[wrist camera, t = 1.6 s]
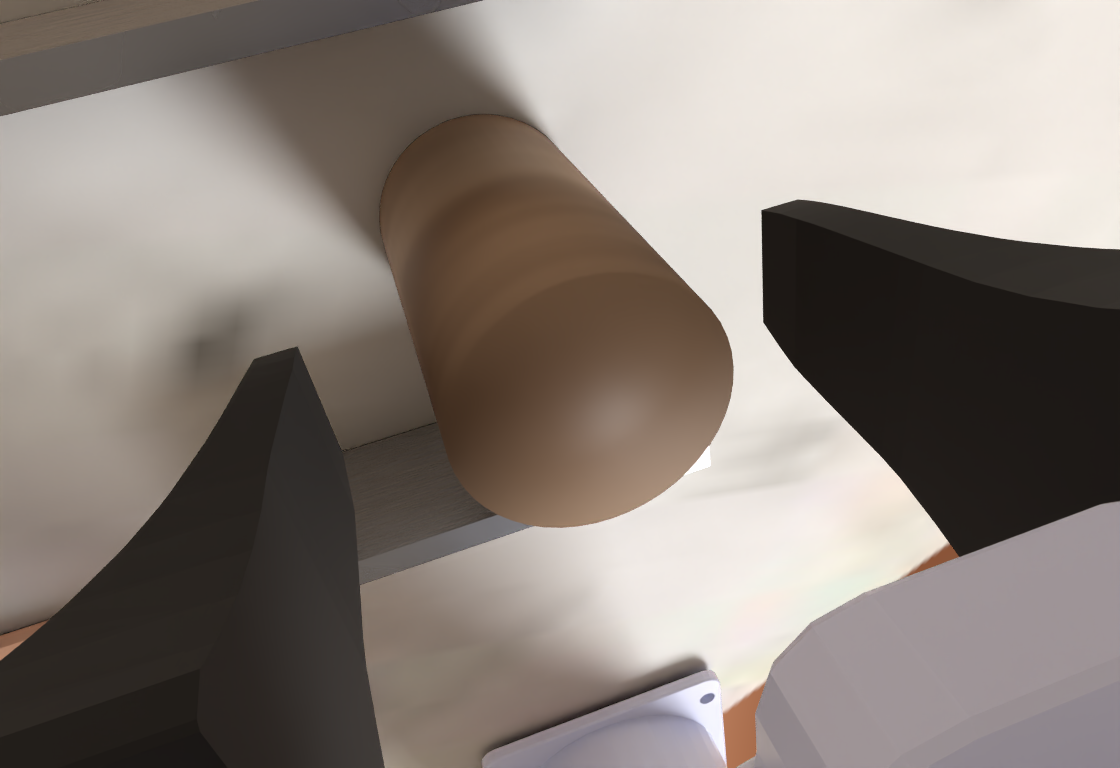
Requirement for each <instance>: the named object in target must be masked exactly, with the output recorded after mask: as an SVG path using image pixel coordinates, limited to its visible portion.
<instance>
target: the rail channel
mask: <svg viewBox="0 0 1120 768" xmlns="http://www.w3.org/2000/svg"><path fill="white" fill-rule="evenodd" d="M478 1H482V0H103V1H99V2H94V3H90V4H85V5H81V6H76V7H72V8H67V9H63V10H59V11H54V12H50V13H45V14H41V15H36V16H32V17H27V18H23V19H18V20H14V21H10V22H5V23H1V24H0V116H4V115H8V114H12V113H16V112H20V111H24V110H28V109H33V108H37V107H41V106H45V105H49V104H53V103H58V102H62V101H66V100H70V99H74V98H78V97H83V96H87V95H91V94H95V93H99V92H103V91H108V90H112V89H116V88H120V87H124V86H128V85H133V84H137V83H141V82H145V81H149V80H153V79H158V78H162V77H166V76H170V75H174V74H178V73H183V72H187V71H191V70H195V69H199V68H203V67H208V66H212V65H216V64H220V63H224V62H228V61H232V60H237V59H241V58H245V57H249V56H253V55H257V54H262V53H266V52H270V51H274V50H278V49H282V48H287V47H291V46H295V45H299V44H303V43H307V42H312V41H316V40H320V39H324V38H328V37H332V36H337V35H341V34H345V33H349V32H353V31H357V30H362V29H366V28H370V27H374V26H378V25H382V24H387V23H391V22H395V21H399V20H403V19H407V18H411V17H416V16H420V15H424V14H428V13H432V12H436V11H441V10H445V9H449V8H453V7H457V6H461V5H466V4H470V3H474V2H478ZM342 453H343V457H344V461H345V466H346V471H347V476H348V480H349V485H350V490H351V495H352V500H353V505H354V510H355V522H356V536H357V551H358V567H359V583H360V585H361V584H364V583H367V582H370V581H373V580H376V579H379V578H382V577H385V576H388V575H391V574H394V573H396V572H399V571H402V570H405V569H408V568H411V567H414V566H417V565H420V564H423V563H426V562H429V561H432V560H435V559H438V558H441V557H444V556H447V555H450V554H453V553H455V552H458V551H461V550H464V549H467V548H470V547H473V546H476V545H479V544H482V543H485V542H488V541H491V540H494V539H497V538H500V537H503V536H506V535H509V534H511V533H514V532H517V531H520V530H523V529H526V528H529V527H532V525H527V524H523V523H519V522H515V521H512V520H509V519H507V518H504V517H502V516H499V515H497V514H496V513H494V512H492V511H491V510H489V509H487V508H485V507H484V506H483V505H481V504H480V503H479V502H478V501H476V500H475V499H474V498H473V497H472V496H471V495H470V494H469V493H468V492H467V491H466V489H465V488H464V487H463V486H462V485H461V483H460V481H459V480H458V478H457V477H456V475H455V474H454V471H453V469H452V467H451V464H450V462H449V459H448V456H447V453H446V450H445V447H444V443H443V440H442V437H441V433H440V430H439V427H438V423H434V424H430V425H427V426H424V427H421V428H418V429H414V430H411V431H408V432H405V433H402V434H399V435H395V436H392V437H389V438H386V439H383V440H379V441H376V442H373V443H370V444H367V445H364V446H360V447H357V448H354V449H351V450H348V451H345V452H342ZM709 466H710V453H709V446H708V448H707V449H706V451H705V452H704V453H703V455H702V456H701V457H700V459H699V460H698V461H697V462H696V463H695V464H694V465H693V466H692V467H691V469H690V470H689V471H688V472H687V473H686V474H688V473H691V472H694V471H697V470H700V469H703V468H706V467H709ZM684 475H685V474H684Z"/></svg>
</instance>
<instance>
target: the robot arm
mask: <svg viewBox="0 0 1120 768" xmlns="http://www.w3.org/2000/svg"><path fill="white" fill-rule="evenodd" d="M761 211H762V270H763V322H764V324H765V325H766V327H767V328H768V330H769V331H770V333H771V334H772V336H773V337H774V339H775V340H776V342H777V343H778V345H779V346H780V348H781V349H782V351H783V352H784V353H785V355H786V356H787V357H788V359H789V360H790V361H791V363H792V364H793V366H794V367H795V368H796V369H797V370H798V371H799V372H800V373H801V375H802V376H803V377H804V378H805V379H806V380H807V381H808V382H809V383H810V384H811V385H812V386H813V387H814V388H815V389H816V390H817V391H818V392H819V393H820V395H821V396H822V397H823V398H824V399H825V400H826V401H827V402H828V403H829V404H830V405H831V406H832V407H833V408H834V409H835V410H836V411H837V412H838V413H839V414H840V415H841V416H842V417H843V418H844V419H845V420H846V421H847V422H848V423H849V424H850V425H851V426H852V427H853V428H854V429H855V430H856V431H857V432H858V433H859V434H860V435H861V436H862V437H863V439H864V440H865V441H866V442H867V443H868V444H869V445H870V446H871V447H872V448H873V449H874V450H875V451H876V452H877V453H878V454H879V455H880V456H881V457H882V458H883V459H884V460H885V461H886V462H887V464H888V465H889V466H890V467H891V468H892V469H893V470H894V471H895V473H896V474H897V475H898V476H899V477H900V478H901V480H902V481H903V482H904V483H905V485H906V486H907V487H908V489H909V490H910V491H911V492H912V494H913V495H914V496H915V498H916V499H917V500H918V502H919V503H920V504H921V505H922V507H923V508H924V509H925V511H926V512H927V513H928V515H929V516H930V517H931V518H932V520H933V521H934V522H935V524H936V525H937V526H938V528H939V529H940V531H941V532H942V533H943V535H944V536H945V537H946V539H947V540H948V542H949V543H950V544H951V546H952V547H953V549H954V550H955V551H956V553H957V554H958V556H959V558H956V559H953V560H951V561H948V562H945V563H943V564H940V565H937V566H935V567H932V568H929V569H927V570H924V571H921V572H919V573H916V574H913V575H911V576H908V577H905V578H903V579H900V580H897V581H895V582H892V583H889V584H887V585H884V586H881V587H879V588H876V589H873V590H871V591H868V592H865V593H863V594H861V595H859V596H857V597H856V598H854V599H852V600H850V601H848V602H847V603H845V604H843V605H841V606H840V607H838V608H836V609H834V610H832V611H831V612H829V613H827V614H825V615H823V616H822V617H820V618H818V619H816V620H814V621H813V622H811V623H810V624H809V625H808V626H807V627H806V628H805V629H804V630H803V631H802V632H801V634H800V635H799V636H798V637H797V638H796V639H795V640H794V641H793V642H792V643H791V644H790V645H789V646H788V647H787V648H786V649H785V650H784V651H783V652H782V653H781V654H780V655H779V657H778V658H777V659H776V660H775V661H774V662H773V664H772V667H771V670H770V673H769V675H768V678H767V681H766V684H765V687H764V690H763V693H762V696H761V699H760V702H759V705H758V707H757V711H756V714H755V716H756V743H757V752H756V756H755V757H753V758H751V759H749V760H748V761H746V762H744V763H743V764H741V765H739V766H738V767H736V768H1120V250H1119V249H1097V248H1082V247H1069V246H1060V245H1050V244H1041V243H1031V242H1022V241H1015V240H1007V239H1000V238H994V237H988V236H983V235H977V234H971V233H965V232H960V231H954V230H949V229H944V228H939V227H934V226H929V225H924V224H920V223H915V222H910V221H906V220H901V219H897V218H892V217H888V216H884V215H879V214H875V213H870V212H866V211H861V210H857V209H852V208H848V207H843V206H838V205H833V204H828V203H822V202H816V201H808V200H795V201H791V202H788V203H784V204H781V205H778V206H774V207H771V208H767V209H764V210H761ZM482 767H483V768H727V763H726V750H725V738H724V726H723V713H722V701H721V688H720V682H719V680H718V678H717V676H716V674H715V672H713V671H710V670H704V671H700V672H698V673H695V674H692V675H690V676H687V677H684V678H682V679H679V680H676V681H674V682H671V683H668V684H666V685H663V686H661V687H658V688H655V689H653V690H650V691H647V692H645V693H642V694H639V695H637V696H634V697H631V698H629V699H626V700H623V701H621V702H618V703H616V704H613V705H610V706H608V707H605V708H602V709H600V710H597V711H594V712H592V713H589V714H586V715H584V716H581V717H578V718H576V719H573V720H571V721H568V722H565V723H563V724H560V725H557V726H555V727H552V728H549V729H547V730H544V731H541V732H539V733H536V734H533V735H531V736H528V737H526V738H523V739H520V740H518V741H515V742H512V743H510V744H507V745H504V746H502V747H499V748H496V749H494V750H492V751H490V752H488V753H487V754H486V755H485V756H484V757H483V759H482ZM0 768H385V767H384V762H383V757H382V751H381V746H380V741H379V736H378V731H377V725H376V720H375V714H374V708H373V703H372V697H371V691H370V686H369V680H368V675H367V669H366V661H365V652H364V643H363V631H362V615H361V599H360V583H359V567H358V551H357V536H356V522H355V510H354V505H353V500H352V495H351V490H350V485H349V480H348V476H347V471H346V466H345V461H344V457H343V453H342V451H341V449H340V446H339V444H338V442H337V439H336V437H335V434H334V432H333V430H332V427H331V425H330V423H329V420H328V418H327V416H326V413H325V411H324V408H323V406H322V404H321V401H320V399H319V397H318V394H317V392H316V390H315V387H314V385H313V382H312V380H311V378H310V375H309V373H308V371H307V368H306V366H305V364H304V361H303V359H302V356H301V354H300V352H299V349H298V347H294V348H290V349H287V350H283V351H280V352H277V353H273V354H270V355H266V356H263V357H260V358H256V359H254V360H253V362H252V364H251V365H250V367H249V369H248V370H247V372H246V374H245V376H244V377H243V379H242V381H241V382H240V384H239V386H238V388H237V389H236V391H235V393H234V395H233V396H232V398H231V400H230V402H229V403H228V405H227V407H226V409H225V410H224V412H223V414H222V416H221V417H220V419H219V421H218V422H217V424H216V426H215V427H214V429H213V430H212V432H211V434H210V435H209V437H208V439H207V440H206V442H205V444H204V445H203V446H202V448H201V449H200V451H199V452H198V454H197V455H196V456H195V458H194V459H193V461H192V462H191V464H190V465H189V467H188V468H187V469H186V471H185V472H184V474H183V475H182V477H181V478H180V479H179V481H178V482H177V484H176V485H175V487H174V488H173V490H172V491H171V492H170V493H169V495H168V496H167V497H166V499H165V500H164V501H163V503H162V504H161V505H160V506H159V508H158V509H157V510H156V511H155V512H154V514H153V515H152V516H151V517H150V518H149V520H148V521H147V522H146V523H145V524H144V525H143V527H142V528H141V529H140V530H139V531H138V532H137V533H136V535H135V536H134V537H133V538H132V539H131V540H130V541H129V543H128V544H127V545H126V546H125V547H124V548H123V549H122V550H121V551H120V552H119V553H118V554H117V555H116V556H115V557H114V558H113V559H112V560H111V561H110V562H109V563H108V564H107V565H106V566H105V567H104V568H103V569H102V570H101V571H100V572H99V573H98V574H97V575H96V576H95V577H94V578H93V579H92V580H91V581H90V582H89V583H88V584H87V585H86V586H85V587H84V588H83V589H82V590H81V591H80V592H79V593H78V594H77V595H76V596H75V597H74V598H73V599H72V600H71V601H70V602H69V603H68V604H66V605H65V606H64V607H63V608H62V609H61V610H60V611H59V612H58V613H56V614H55V615H54V616H53V617H52V618H51V619H49V620H48V621H47V622H46V623H45V624H44V625H43V626H41V627H40V628H39V629H38V630H37V631H36V632H35V633H33V634H32V635H31V636H30V637H29V638H27V639H26V640H25V641H24V642H22V643H21V644H20V645H19V646H18V647H16V648H15V649H14V650H13V651H11V652H10V653H9V654H8V655H7V656H5V657H4V658H3V659H2V660H0Z"/></svg>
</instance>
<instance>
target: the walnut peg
mask: <svg viewBox="0 0 1120 768" xmlns="http://www.w3.org/2000/svg"><path fill="white" fill-rule="evenodd" d="M379 222H380V232H381V236H382V240H383V244H384V247H385V250H386V254H387V257H388V260H389V264H390V267H391V270H392V274H393V277H394V280H395V284H396V287H397V290H398V294H399V297H400V300H401V304H402V307H403V310H404V314H405V317H406V320H407V324H408V327H409V330H410V334H411V337H412V340H413V344H414V347H415V350H416V353H417V357H418V360H419V363H420V367H421V370H422V373H423V377H424V380H425V383H426V387H427V390H428V393H429V397H430V400H431V403H432V407H433V410H434V413H435V417H436V420H437V423H438V427H439V430H440V433H441V437H442V440H443V443H444V447H445V450H446V453H447V456H448V459H449V462H450V464H451V467H452V469H453V471H454V474H455V475H456V477H457V478H458V480H459V481H460V483H461V485H462V486H463V487H464V488H465V489H466V491H467V492H468V493H469V494H470V495H471V496H472V497H473V498H474V499H475V500H476V501H478V502H479V503H480V504H481V505H483V506H484V507H485V508H487V509H489V510H491V511H492V512H494V513H496V514H497V515H499V516H502V517H504V518H507V519H509V520H512V521H515V522H519V523H523V524H527V525H532V526H539V527H557V528H563V527H575V526H582V525H588V524H593V523H598V522H601V521H604V520H608V519H611V518H614V517H617V516H619V515H622V514H624V513H627V512H629V511H632V510H634V509H635V508H637V507H639V506H641V505H643V504H645V503H647V502H649V501H650V500H652V499H653V498H655V497H657V496H658V495H660V494H661V493H663V492H664V491H665V490H667V489H668V488H669V487H671V486H672V485H673V484H675V483H676V482H677V481H678V480H679V479H680V478H681V477H682V476H683V475H684V474H686V473H687V472H688V471H689V470H690V469H691V467H692V466H693V465H694V464H695V463H696V462H697V461H698V460H699V459H700V457H701V456H702V455H703V453H704V452H705V451H706V449H707V448H708V446H709V445H710V444H711V442H712V440H713V438H714V437H715V435H716V433H717V432H718V430H719V428H720V426H721V423H722V421H723V419H724V417H725V414H726V411H727V408H728V405H729V401H730V398H731V392H732V386H733V359H732V351H731V348H730V344H729V341H728V337H727V335H726V333H725V331H724V329H723V327H722V325H721V322H720V321H719V320H718V318H717V317H716V315H715V314H714V313H713V311H712V310H711V309H710V308H709V307H708V306H707V305H706V304H705V302H704V301H703V300H702V299H701V298H700V297H699V296H698V295H697V294H696V293H695V292H694V291H693V290H692V289H691V288H690V287H689V286H688V285H687V284H686V282H685V281H684V280H683V279H682V278H681V277H680V276H679V275H678V274H677V273H676V272H675V271H674V270H673V269H672V268H671V267H670V266H669V265H668V264H667V263H666V261H665V260H664V259H663V258H662V257H661V256H660V255H659V254H658V253H657V252H656V251H655V250H654V249H653V248H652V247H651V246H650V245H649V244H648V243H647V242H646V240H645V239H644V238H643V237H642V236H641V235H640V234H639V233H638V232H637V231H636V230H635V229H634V228H633V227H632V226H631V225H630V224H629V223H628V222H627V221H626V219H625V218H624V217H623V216H622V215H621V214H620V213H619V212H618V211H617V210H616V209H615V208H614V207H613V206H612V205H611V204H610V203H609V202H608V201H607V200H606V198H605V197H604V196H603V195H602V194H601V193H600V192H599V191H598V190H597V189H596V188H595V187H594V186H593V185H592V184H591V183H590V182H589V181H588V180H587V178H586V177H585V176H584V175H583V174H582V173H581V172H580V171H579V170H578V169H577V168H576V167H575V166H574V165H573V164H572V163H571V162H570V161H569V160H568V159H567V157H566V156H565V155H564V154H563V153H562V152H561V151H560V150H559V149H558V148H557V147H556V146H555V145H554V144H553V143H552V142H551V141H550V140H549V139H548V138H547V137H546V136H545V135H543V134H542V133H541V132H539V131H538V130H537V129H535V128H533V127H531V126H530V125H528V124H526V123H524V122H521V121H518V120H516V119H513V118H509V117H505V116H500V115H490V114H478V115H468V116H463V117H458V118H455V119H452V120H449V121H446V122H443V123H441V124H439V125H437V126H435V127H433V128H431V129H430V130H428V131H427V132H425V133H424V134H422V135H421V136H419V137H418V138H417V139H416V140H415V141H414V142H413V143H411V144H410V145H409V146H408V147H407V149H406V150H405V151H404V152H403V153H402V154H401V155H400V157H399V158H398V160H397V161H396V163H395V164H394V166H393V167H392V169H391V171H390V173H389V175H388V177H387V179H386V182H385V185H384V188H383V191H382V196H381V201H380V211H379Z"/></svg>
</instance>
